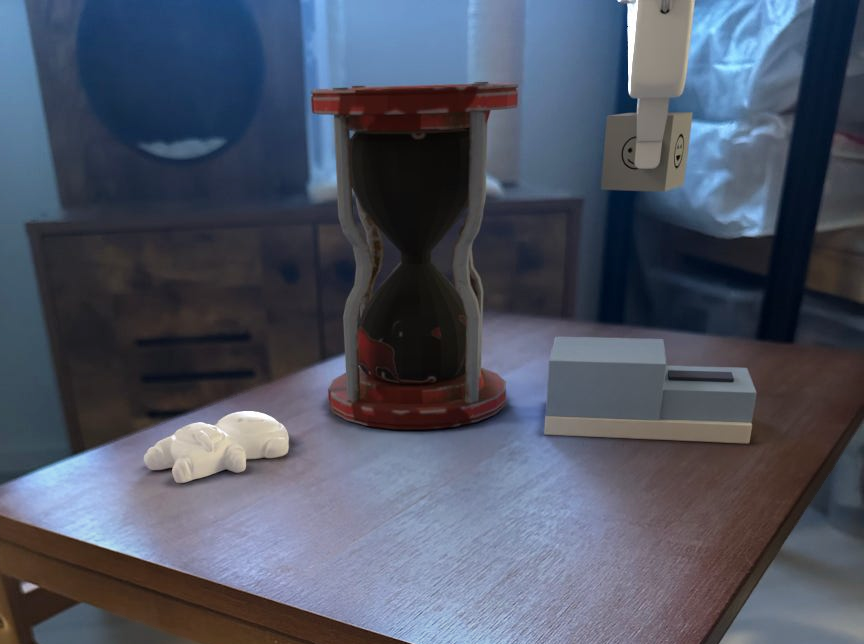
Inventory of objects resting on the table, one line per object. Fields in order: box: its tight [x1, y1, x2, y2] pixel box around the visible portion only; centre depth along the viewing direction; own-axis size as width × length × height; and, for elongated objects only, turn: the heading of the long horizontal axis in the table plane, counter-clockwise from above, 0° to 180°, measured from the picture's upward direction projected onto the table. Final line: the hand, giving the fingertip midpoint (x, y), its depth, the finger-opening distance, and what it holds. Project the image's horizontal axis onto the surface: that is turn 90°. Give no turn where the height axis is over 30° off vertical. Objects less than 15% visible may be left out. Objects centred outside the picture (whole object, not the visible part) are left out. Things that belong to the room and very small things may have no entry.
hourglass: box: [310, 81, 519, 431], centre depth 79 cm, size 16×16×25 cm
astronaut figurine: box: [143, 410, 290, 484], centre depth 74 cm, size 9×12×3 cm
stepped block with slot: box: [543, 336, 758, 445], centre depth 78 cm, size 16×8×6 cm, turn 77°
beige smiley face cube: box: [600, 111, 694, 193], centre depth 72 cm, size 5×5×5 cm
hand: (645, 164), depth 73 cm, fingers closed on beige smiley face cube, 5 cm apart
